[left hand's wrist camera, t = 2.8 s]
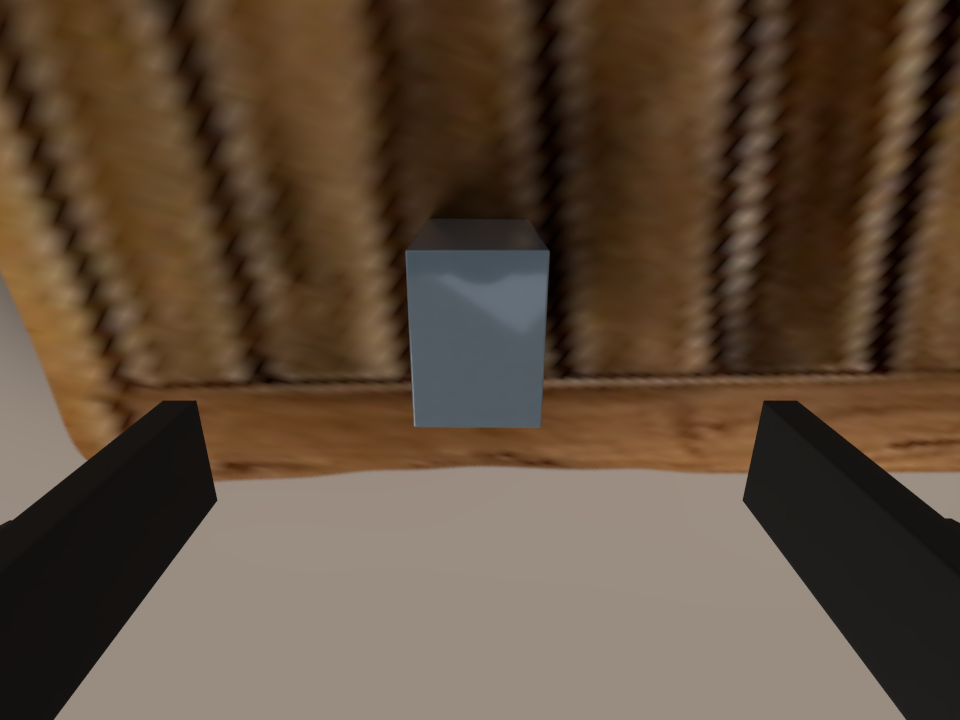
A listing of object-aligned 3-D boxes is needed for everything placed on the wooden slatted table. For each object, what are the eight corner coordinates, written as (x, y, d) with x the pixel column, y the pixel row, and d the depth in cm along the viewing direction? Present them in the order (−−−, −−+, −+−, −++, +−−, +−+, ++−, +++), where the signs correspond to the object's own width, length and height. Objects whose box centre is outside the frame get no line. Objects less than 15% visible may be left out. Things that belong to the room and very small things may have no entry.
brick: (432, 349, 29) (413, 427, 21) (428, 218, 26) (405, 249, 18) (524, 349, 29) (541, 428, 21) (529, 218, 26) (550, 250, 18)
